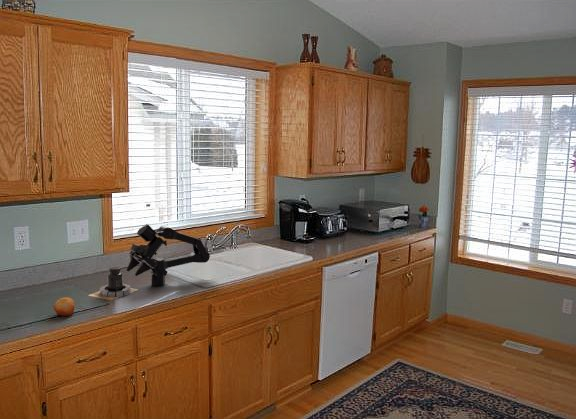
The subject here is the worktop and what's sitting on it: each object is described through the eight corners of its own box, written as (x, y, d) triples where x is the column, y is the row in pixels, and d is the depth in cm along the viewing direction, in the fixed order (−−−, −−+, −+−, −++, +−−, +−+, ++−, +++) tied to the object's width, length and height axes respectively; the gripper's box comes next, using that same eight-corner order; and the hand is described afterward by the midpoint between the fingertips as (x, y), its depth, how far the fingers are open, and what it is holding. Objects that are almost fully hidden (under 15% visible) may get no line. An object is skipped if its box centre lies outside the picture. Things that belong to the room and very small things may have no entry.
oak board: (116, 286, 250) (116, 285, 250) (138, 291, 244) (138, 289, 244) (87, 296, 234) (87, 295, 234) (111, 302, 228) (111, 300, 228)
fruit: (79, 306, 217) (75, 294, 212) (74, 321, 211) (69, 309, 206) (60, 306, 217) (55, 293, 212) (54, 321, 211) (49, 308, 206)
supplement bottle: (123, 290, 243) (123, 265, 241) (123, 294, 236) (122, 269, 234) (108, 291, 241) (107, 266, 239) (107, 295, 234) (106, 270, 233)
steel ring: (114, 286, 247) (114, 282, 247) (136, 291, 242) (136, 286, 241) (93, 294, 235) (93, 289, 235) (115, 299, 230) (115, 294, 229)
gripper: (132, 234, 250) (111, 259, 245) (150, 240, 236) (127, 267, 231) (147, 247, 257) (127, 272, 251) (165, 255, 243) (144, 281, 237)
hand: (131, 273), depth 242 cm, fingers open, 9 cm apart
